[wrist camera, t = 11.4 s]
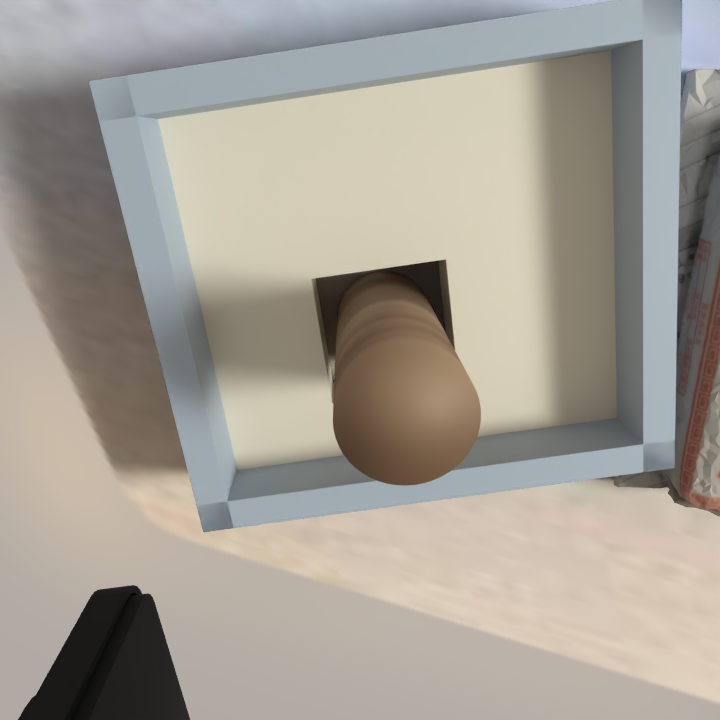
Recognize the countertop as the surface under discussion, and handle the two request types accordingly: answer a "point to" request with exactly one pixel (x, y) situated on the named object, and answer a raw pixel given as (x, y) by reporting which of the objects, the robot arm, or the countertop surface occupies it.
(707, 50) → the countertop surface
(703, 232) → the packaged product
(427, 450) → the dowel
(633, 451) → the box
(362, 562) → the countertop surface
